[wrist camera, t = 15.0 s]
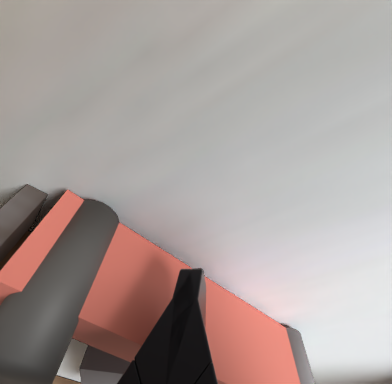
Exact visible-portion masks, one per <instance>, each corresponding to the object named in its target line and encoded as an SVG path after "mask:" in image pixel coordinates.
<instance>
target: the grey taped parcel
mask: <svg viewBox="0 0 392 384" xmlns="http://www.w3.org/2000/svg"><path fill="white" fill-rule="evenodd" d="M130 363H131V362H129V361H126V360H124V359H121V358H119V357H116V356H114V355H112V354H109V353H107V352H104V351H102V350H99V349H97V348H95V347H92V346H90V345H88V347H87V350H86V352H85V355H84V358H83V360H82V363H81V366H80V376H81V384H117V383H118V381H119V380H120V378H121V377H122V375H123V374H124V372H125V371H126V369H127V368H128V366H129V365H130Z"/></svg>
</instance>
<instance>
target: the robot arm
mask: <svg viewBox="0 0 392 384" xmlns="http://www.w3.org/2000/svg"><path fill="white" fill-rule="evenodd" d="M205 324H206V282H205V277H204V271H203V269H201V268H193V269H181V270H180V271H179V275H178V279H177V282H176V286H175V290H174V293H173V297H172V299H171V301H170V303H169V304H168V306H167V307H166V309H165V310H164V312H163V313H162V315H161V317H160V318H159V320H158V321H157V323H156V324H155V326H154V327H153V329H152V331H151V332H150V334H149V335H148V337H147V338H146V340H145V342H144V343H143V345H142V346H141V348H140V349H139V351H138V352H137V354H136V356H135V357H134V360H132V362H131V363H130V365H129V366H128V368H127V369H126V371H125V372H124V374H123V375H122V377H121V378H120V380H119V381H118V383H117V384H218V381H217V378H216V373H215V369H214V364H213V361H212V356H211V352H210V348H209V343H208V339H207V334H206V330H205Z"/></svg>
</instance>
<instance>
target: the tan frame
mask: <svg viewBox="0 0 392 384" xmlns="http://www.w3.org/2000/svg"><path fill="white" fill-rule="evenodd" d="M46 197H47V194H45V193H44V192H42V191H40V190H38V189H36V188H34V187H32V186H30V185H28V184H27V185H26V186H25V187H24V188H23V189H21V190H20V191H19V192H18V193H17V194H16V195H15V196H14V197H13V198H11V199H10V200H9V201H8V202H7V203H6V204H5V205H4V206H3V207H2V208H0V271H1V269H2V268H3V267H4V266H5V264H6V263H7V262H8V261H9V260H10V258H11V257H12V256H13V255H14V254H15V252H16V251H17V250H18V249H19V248H20V246H21V245H22V244H23V243H24V242H25V240H26V239H27V238H28V237H29V236H30V234H31V232H29V231H28V229H29V228H30V227H31V226H32V225H33V223H34V221H35V219H36V217H37V215H38V213H39V211H40V209H41V207H42V205H43V203H44V201H45V199H46ZM52 384H81V383H79V382H76V381H73V380H69V379H66V378H63V377H59V376H55V379H54V381H53V383H52Z"/></svg>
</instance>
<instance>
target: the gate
mask: <svg viewBox="0 0 392 384" xmlns="http://www.w3.org/2000/svg"><path fill="white" fill-rule="evenodd" d="M181 269H192V268H191V267H189V266H188V265H186V264H184V263H183V262H181V261H180V260H178V259H177V258H175V257H173V256H172V255H170V254H169V253H167V252H165V251H164V250H162V249H161V248H159V247H158V246H156V245H154V244H153V243H151V242H150V241H148V240H147V239H145V238H143V237H142V236H140V235H139V234H137V233H135V232H134V231H132V230H131V229H129V228H128V227H126V226H124V225H123V224H121V223H120V222H119V218H118V216H117V214H116V213H115V212H114V211H113V210H112V209H111V208H110V207H109V206H107V205H106V204H104V203H102V202H99V201H95V200H83V199H82V198H80V197H79V196H77V195H75V194H74V193H72V192H71V191H69V190H67V191H66V192H65V193H64V195H63V196H62V197H61V198H60V199H59V201H58V202H57V203H56V204H55V205H54V207H53V208H52V209H51V210H50V211H49V213H48V214H47V215H46V216H45V217H44V219H43V220H42V221H41V222H40V223H39V225H38V226H37V227H36V228H35V230H34V231H33V232H32V233H31V234H30V236H29V237H28V238H27V239H26V240H25V242H24V243H23V244H22V245H21V246H20V248H19V249H18V250H17V251H16V252H15V254H14V255H13V256H12V257H11V258H10V260H9V261H8V262H7V263H6V264H5V266H4V267H3V268H2V269H1V271H0V384H52V383H53V381H54V379H55V376H56V374H57V372H58V369H59V367H60V365H61V362H62V360H63V358H64V355H65V353H66V351H67V348H68V346H69V344H70V341H71V339H72V338H73V339H75V340H78V341H80V342H82V343H85V344H87V345H90V346H92V347H95V348H97V349H99V350H102V351H104V352H107V353H109V354H112V355H114V356H116V357H119V358H121V359H124V360H126V361H129V362H132V360H134V357H135V356H136V354H137V352H138V351H139V349H140V348H141V346H142V345H143V343H144V342H145V340H146V338H147V337H148V335H149V334H150V332H151V331H152V329H153V327H154V326H155V324H156V323H157V321H158V320H159V318H160V317H161V315H162V313H163V312H164V310H165V309H166V307H167V306H168V304H169V303H170V301H171V299H172V297H173V293H174V290H175V286H176V282H177V279H178V275H179V271H180V270H181ZM204 277H205V276H204ZM205 282H206V324H205V330H206V334H207V339H208V343H209V348H210V352H211V356H212V361H213V364H214V369H215V373H216V378H217V381H218V384H315V381H314V377H313V374H312V371H311V367H310V364H309V361H308V357H307V354H306V351H305V347H304V344H303V341H302V337H301V334H300V332H299V331H298V330H296V329H293V328H285V327H284V326H282V325H281V324H279V323H278V322H276V321H274V320H273V319H271V318H270V317H268V316H267V315H265V314H263V313H262V312H260V311H259V310H257V309H255V308H254V307H252V306H251V305H249V304H248V303H246V302H244V301H243V300H241V299H240V298H238V297H237V296H235V295H233V294H232V293H230V292H229V291H227V290H225V289H224V288H222V287H221V286H219V285H218V284H216V283H214V282H213V281H211V280H210V279H208V278H207V277H205Z"/></svg>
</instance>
